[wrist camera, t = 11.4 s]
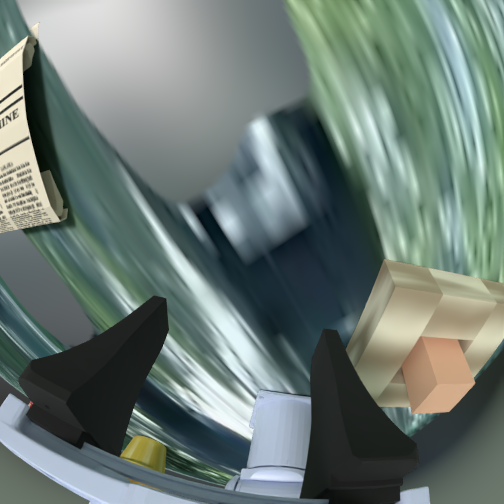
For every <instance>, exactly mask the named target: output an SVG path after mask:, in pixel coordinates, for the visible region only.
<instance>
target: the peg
mask: <svg viewBox="0 0 504 504" xmlns="http://www.w3.org/2000/svg"><path fill="white" fill-rule="evenodd" d="M401 366H402V370H403V375H404V379H405V383H406V388H407V392H408V397H409V402H410V407H411V412H412V414H419V413H438V412H449V411H450V410H451V409H452V408H453V407H454V406H455V405H456V404H457V403H458V402H459V400H461V398H462V397H463V396H464V395H465V394H466V393H467V392H468V390H470V388H471V387H472V386H473V385H474V384H475V381H474V378H473V376H472V373H471V371H470V368H469V366H468V363H467V361H466V358H465V356H464V354H463V351H462V349H461V347H460V344H459V342H458V340H457V339H447V338H435V337H424V336H420V337H419V339H418V340H417V342H416V344H415V345H414V347H413V348H412V350H411V351H410V353H409V355H408V356H407V358H406V359H405V361H404V362H403V364H402V365H401Z"/></svg>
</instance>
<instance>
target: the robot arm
mask: <svg viewBox="0 0 504 504" xmlns="http://www.w3.org/2000/svg"><path fill="white" fill-rule="evenodd" d="M168 331H169V326H168V315H167V302H166V298H162V297H158V296H153V297H152V298H150V299H149V300H148V301H146V302H145V303H144V304H142V305H141V306H140V307H139V308H137V309H136V310H135V311H133V312H132V313H131V314H129V315H128V316H127V317H125V318H124V319H123V320H121V321H120V322H118V323H117V324H115V325H114V326H112V327H111V328H109V329H108V330H106V331H105V332H103V333H102V334H100V335H98V336H96V337H94V338H93V339H91V340H89V341H87V342H85V343H82V344H80V345H78V346H76V347H73V348H71V349H69V350H66V351H63V352H60V353H57V354H54V355H51V356H47V357H43V358H39V359H34V360H32V361H31V362H30V363H29V365H28V366H27V367H26V369H25V370H24V372H23V373H22V374H21V376H20V377H19V379H18V381H19V384H20V386H21V388H22V389H23V391H24V392H25V393H26V395H27V396H28V397H29V399H30V400H31V401H32V403H33V404H32V406H31V407H29V406H28V405H27V404H25V403H24V402H23V401H21V400H20V399H18V398H17V397H15V396H14V395H12V394H9V395H8V397H7V398H6V400H5V401H4V403H3V404H2V406H1V407H0V442H1V443H3V444H4V445H5V446H6V447H7V448H8V449H10V450H11V451H12V452H13V453H14V454H16V455H17V456H18V457H20V458H21V459H23V460H24V461H25V462H27V463H28V464H30V465H31V466H32V467H34V468H35V469H37V470H38V471H40V472H41V473H43V474H44V475H46V476H47V477H49V478H51V479H52V480H54V481H56V482H57V483H59V484H60V485H62V486H64V487H66V488H67V489H69V490H71V491H72V492H74V493H76V494H78V495H80V496H82V497H83V498H85V499H87V500H89V501H90V503H89V504H208V503H212V504H430V499H429V488H428V487H421V488H414V489H408V490H404V491H401V492H400V486H402V484H403V478H402V477H404V476H406V475H407V474H409V473H410V472H412V471H413V470H414V469H416V468H417V467H418V465H419V464H420V462H419V454H418V449H417V445H416V443H415V442H414V441H413V440H411V439H410V438H409V437H408V436H407V435H405V434H404V433H403V432H402V431H401V430H400V429H399V428H398V427H397V426H396V425H395V424H394V423H393V422H392V421H391V420H390V419H389V418H388V417H387V415H386V414H385V413H384V412H383V411H382V410H381V408H380V407H379V406H378V405H377V403H376V402H375V401H374V399H373V398H372V396H371V395H370V393H369V392H368V390H367V389H366V387H365V386H364V384H363V382H362V381H361V379H360V377H359V376H358V374H357V372H356V370H355V368H354V366H353V364H352V362H351V360H350V358H349V356H348V354H347V352H346V350H345V348H344V345H343V343H342V341H341V338H340V336H339V334H338V332H337V330H331V329H323V331H322V334H321V337H320V339H319V342H318V344H317V347H316V349H315V352H314V354H313V357H312V364H311V376H310V384H311V397H306V396H298V395H291V394H284V393H277V392H271V391H265V390H260V391H258V394H257V398H256V402H255V406H254V410H253V413H252V417H251V421H250V425H249V427H250V428H252V429H254V431H253V436H252V442H251V447H250V453H249V458H248V463H247V469H242V471H241V476H238V475H236V476H234V477H233V478H232V479H231V480H230V481H229V482H228V483H227V485H226V487H225V489H222V488H217V487H213V486H208V485H203V484H200V483H196V482H192V481H188V480H184V479H181V478H177V477H174V476H170V475H167V474H164V473H161V472H158V471H154V470H151V469H149V468H146V467H143V466H140V465H137V464H135V463H132V462H129V461H127V460H124V459H122V458H120V454H121V450H122V446H123V442H124V438H125V434H126V431H127V427H128V424H129V420H130V417H131V414H132V411H133V408H134V406H135V403H136V400H137V397H138V395H139V392H140V390H141V387H142V385H143V383H144V381H145V379H146V377H147V375H148V374H149V372H150V370H151V368H152V366H153V364H154V362H155V360H156V358H157V357H158V355H159V353H160V351H161V349H162V347H163V344H164V341H165V339H166V336H167V333H168ZM123 476H124V477H123ZM125 477H126V478H125ZM127 478H129V479H131V480H134V481H137V482H139V483H142V484H145V485H148V486H151V487H154V488H157V489H160V490H163V491H166V492H169V493H166V492H163V491H160V490H157V489H154V488H151V487H148V486H145V485H142V484H138V483H131V481H130V480H129V479H127ZM170 493H173V494H176V495H173V494H170ZM177 495H180V496H183V497H180V496H177ZM184 497H187V498H184ZM188 498H191V499H188ZM192 499H195V500H192ZM196 500H199V501H203V502H199V501H196ZM204 502H208V503H204Z"/></svg>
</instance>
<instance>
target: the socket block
mask: <svg viewBox="0 0 504 504" xmlns="http://www.w3.org/2000/svg"><path fill="white" fill-rule="evenodd" d="M420 336H424V337H435V338H447V339H457V340H458V342H459V344H460V347H461V349H462V351H463V354H464V356H465V358H466V361H467V363H468V366H469V368H470V371H471V373H472V376H473V378H474V377H475V375H476V374H477V373H478V372H479V370H480V369H481V368H482V367H483V365H484V364H485V363H486V362H487V360H488V359H489V358H490V356H491V355H492V354H493V352H494V351H495V350H496V348H497V347H498V346H499V344H500V343H501V341H502V340H503V338H504V284H503V283H498V282H494V281H489V280H484V279H480V278H475V277H470V276H465V275H461V274H456V273H451V272H446V271H441V270H436V269H431V268H426V267H421V266H416V265H411V264H406V263H401V262H396V261H391V260H386V259H384V261H383V264H382V266H381V269H380V272H379V274H378V277H377V279H376V282H375V284H374V287H373V289H372V292H371V294H370V297H369V299H368V301H367V304H366V306H365V308H364V311H363V313H362V315H361V318H360V320H359V322H358V324H357V326H356V329H355V331H354V333H353V335H352V337H351V339H350V342H349V344H348V346H347V348H346V352H347V354H348V356H349V358H350V360H351V362H352V364H353V366H354V368H355V370H356V372H357V374H358V376H359V377H360V379H361V381H362V382H363V384H364V386H365V387H366V389H367V390H368V392H369V393H370V395H371V396H372V398H373V399H374V401H375V402H376V403H377V405H378V406H379V407H410V402H409V397H408V392H407V388H406V383H405V379H404V375H403V370H402V366H401V365H402V364H403V362H404V361H405V359H406V358H407V356H408V355H409V353H410V351H411V350H412V348H413V347H414V345H415V344H416V342H417V340H418V339H419V337H420Z"/></svg>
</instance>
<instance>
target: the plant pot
mask: <svg viewBox="0 0 504 504" xmlns="http://www.w3.org/2000/svg"><path fill="white" fill-rule="evenodd" d="M120 458H122V459H124V460H127V461H129V462H132V463H135V464H137V465H140V466H143V467H146V468H149V469H151V470H154V471H158V472H161V473H164V474H165V461H166V447H165V446H164V445H163V444H161V443H160V442H158V441H156V440H154V439H151V438H149V437H145V436H141V435H137V436H135V437H134V438H133V439H132V441H131V442H130V443H129V445H128V446H127V447H126V449H125V450H124V452H123V453H122V454H121V456H120ZM123 477H124V476H123ZM125 478H126V477H125ZM127 479H129V478H127ZM129 480H130V481H131V483H138V484H142V483H139V482H137V481H134V480H131V479H129ZM142 485H145V484H142ZM145 486H148V485H145ZM148 487H151V486H148ZM151 488H154V487H151ZM154 489H157V488H154ZM157 490H160V489H157ZM160 491H163V490H160Z"/></svg>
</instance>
